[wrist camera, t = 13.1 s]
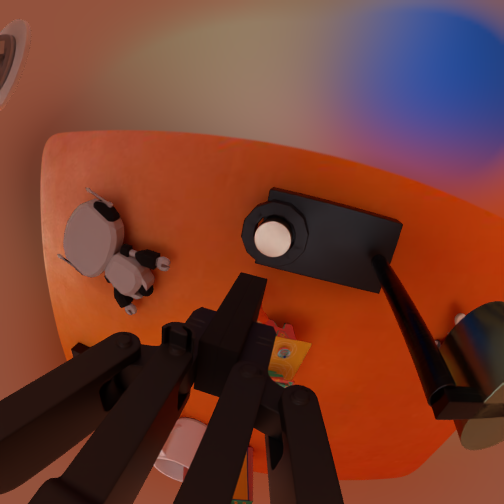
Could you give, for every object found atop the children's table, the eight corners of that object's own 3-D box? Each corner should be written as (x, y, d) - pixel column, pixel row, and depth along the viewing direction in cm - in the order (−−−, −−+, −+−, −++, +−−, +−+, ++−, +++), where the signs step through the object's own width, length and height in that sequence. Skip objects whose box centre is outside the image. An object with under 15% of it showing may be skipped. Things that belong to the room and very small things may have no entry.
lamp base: (244, 252, 33) (235, 265, 30) (257, 183, 31) (250, 187, 27) (375, 285, 32) (382, 301, 28) (397, 219, 29) (408, 228, 25)
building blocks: (185, 441, 44) (177, 505, 31) (238, 283, 33) (239, 372, 20) (249, 452, 46) (253, 514, 33) (336, 308, 35) (378, 390, 22)
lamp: (359, 292, 28) (396, 455, 10) (382, 224, 26) (480, 345, 8) (437, 310, 27) (510, 444, 9) (462, 250, 24) (576, 357, 7)
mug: (224, 443, 47) (209, 485, 37) (187, 442, 49) (169, 480, 40) (197, 407, 44) (176, 452, 35) (158, 408, 47) (134, 447, 37)
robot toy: (184, 253, 36) (101, 179, 34) (170, 268, 32) (80, 185, 30) (141, 309, 40) (70, 243, 38) (127, 326, 36) (51, 254, 34)
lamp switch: (254, 246, 29) (251, 252, 28) (261, 213, 28) (258, 217, 26) (288, 254, 29) (286, 261, 27) (296, 221, 28) (295, 226, 26)
